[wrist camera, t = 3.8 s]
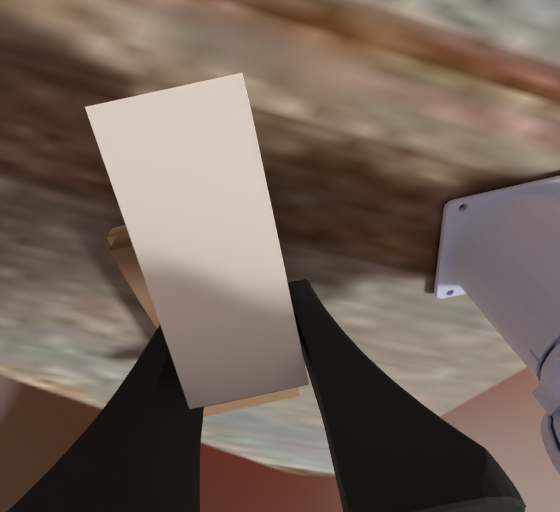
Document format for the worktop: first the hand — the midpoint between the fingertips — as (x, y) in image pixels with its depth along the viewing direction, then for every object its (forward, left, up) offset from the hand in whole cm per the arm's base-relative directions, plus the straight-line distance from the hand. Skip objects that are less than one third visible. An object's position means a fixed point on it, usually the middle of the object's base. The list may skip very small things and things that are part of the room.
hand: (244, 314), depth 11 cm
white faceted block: (0, -2, -3) cm, 4 cm away
